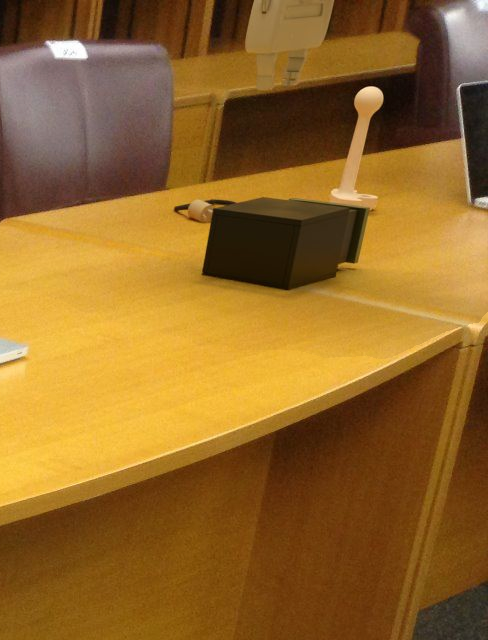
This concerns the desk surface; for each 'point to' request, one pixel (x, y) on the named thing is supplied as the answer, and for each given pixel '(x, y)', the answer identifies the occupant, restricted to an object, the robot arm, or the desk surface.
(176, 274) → the desk surface
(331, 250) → the cabinet
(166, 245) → the desk surface
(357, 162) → the joystick
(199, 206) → the cable
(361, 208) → the drawer
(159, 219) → the desk surface
